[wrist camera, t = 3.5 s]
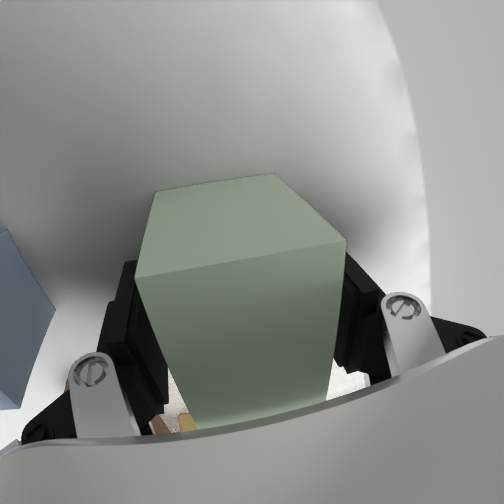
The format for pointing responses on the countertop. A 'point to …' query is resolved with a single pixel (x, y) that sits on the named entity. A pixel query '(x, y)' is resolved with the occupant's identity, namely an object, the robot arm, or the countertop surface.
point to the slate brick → (19, 323)
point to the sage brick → (242, 296)
